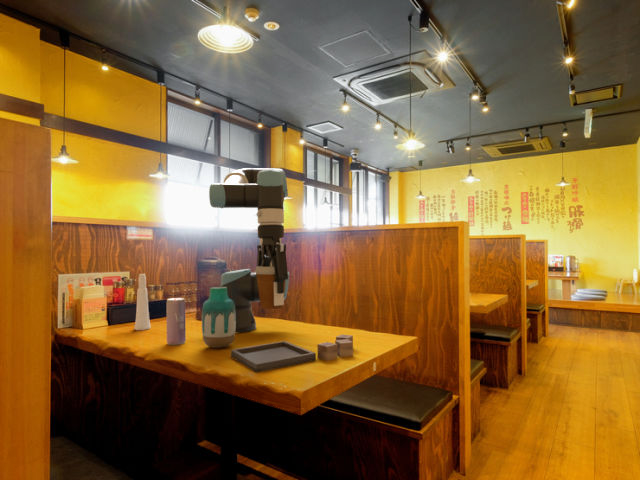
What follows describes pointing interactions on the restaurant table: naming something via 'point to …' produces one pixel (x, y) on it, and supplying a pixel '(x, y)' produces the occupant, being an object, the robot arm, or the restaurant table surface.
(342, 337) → the cube
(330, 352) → the cube
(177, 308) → the beverage can
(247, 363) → the tray
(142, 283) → the cosmetic bottle
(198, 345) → the restaurant table surface
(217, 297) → the vase
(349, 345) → the cube
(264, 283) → the disposable coffee cup
